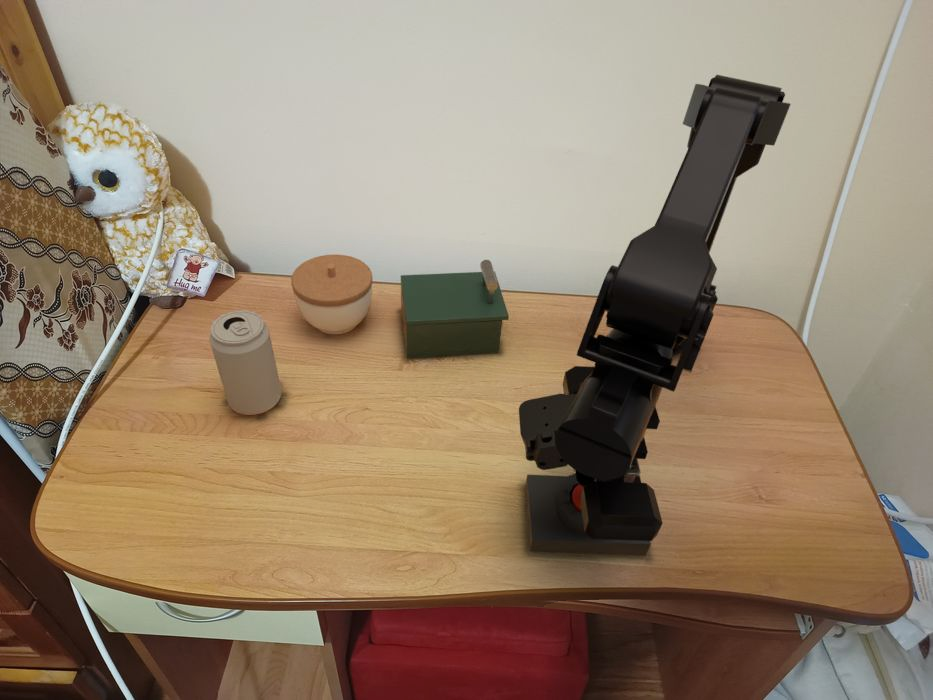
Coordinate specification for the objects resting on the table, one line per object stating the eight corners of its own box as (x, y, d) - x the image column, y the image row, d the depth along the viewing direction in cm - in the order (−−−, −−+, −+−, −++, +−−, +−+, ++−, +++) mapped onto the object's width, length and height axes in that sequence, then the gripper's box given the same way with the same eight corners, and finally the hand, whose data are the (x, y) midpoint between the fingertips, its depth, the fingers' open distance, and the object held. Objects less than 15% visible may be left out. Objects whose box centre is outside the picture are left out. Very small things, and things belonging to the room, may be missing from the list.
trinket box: (307, 295, 93) (299, 241, 87) (379, 299, 93) (376, 246, 87) (290, 343, 85) (280, 287, 79) (369, 348, 85) (365, 292, 79)
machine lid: (494, 275, 89) (497, 248, 86) (508, 320, 82) (512, 292, 79) (400, 279, 87) (400, 252, 84) (406, 325, 80) (405, 297, 77)
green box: (486, 307, 93) (489, 275, 89) (498, 353, 86) (502, 320, 82) (401, 311, 91) (400, 279, 88) (406, 358, 84) (406, 325, 80)
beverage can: (264, 373, 81) (247, 300, 72) (292, 401, 77) (278, 327, 69) (218, 397, 77) (195, 323, 69) (246, 427, 74) (225, 353, 66)
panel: (631, 490, 70) (639, 468, 67) (645, 555, 64) (655, 534, 62) (524, 486, 70) (529, 464, 67) (529, 551, 64) (534, 530, 61)
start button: (601, 492, 67) (604, 483, 66) (606, 522, 64) (610, 512, 63) (567, 491, 67) (570, 481, 65) (571, 521, 64) (574, 511, 63)
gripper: (524, 318, 60) (508, 424, 71) (539, 476, 47) (516, 579, 57) (638, 323, 61) (605, 428, 71) (686, 482, 47) (637, 583, 57)
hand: (590, 496), depth 64 cm, fingers closed, pressing on start button
